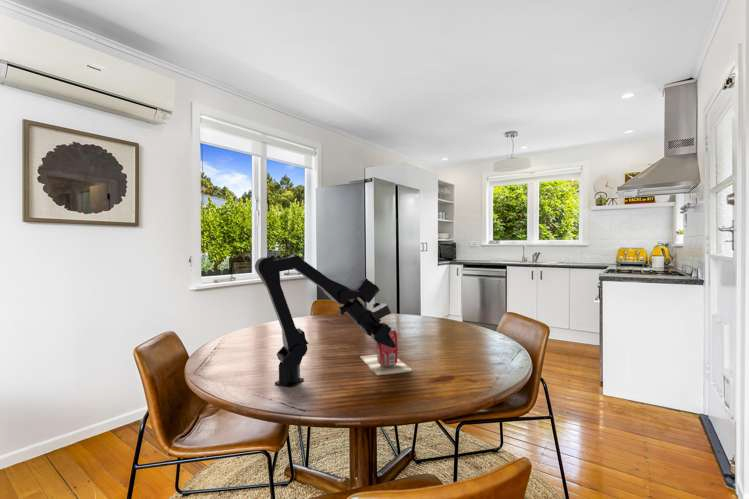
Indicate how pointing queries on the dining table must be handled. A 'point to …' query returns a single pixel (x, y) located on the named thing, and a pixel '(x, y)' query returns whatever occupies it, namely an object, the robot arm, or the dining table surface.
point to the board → (384, 370)
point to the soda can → (388, 351)
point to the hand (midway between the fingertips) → (391, 344)
